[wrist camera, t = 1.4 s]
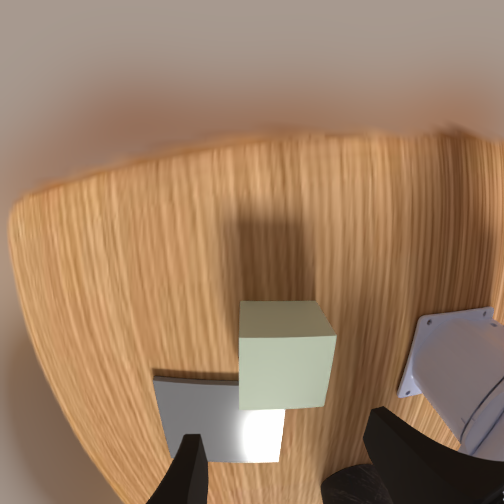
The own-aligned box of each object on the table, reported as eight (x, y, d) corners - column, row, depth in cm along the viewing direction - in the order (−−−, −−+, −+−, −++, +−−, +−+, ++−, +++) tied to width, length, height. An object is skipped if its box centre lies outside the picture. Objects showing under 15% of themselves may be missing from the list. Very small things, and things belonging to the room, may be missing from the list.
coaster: (287, 380, 20) (287, 385, 20) (277, 457, 23) (278, 461, 22) (154, 376, 20) (152, 380, 20) (172, 453, 22) (171, 457, 22)
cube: (315, 300, 19) (337, 335, 14) (308, 362, 20) (323, 406, 15) (239, 300, 19) (238, 337, 14) (239, 363, 20) (239, 409, 15)
